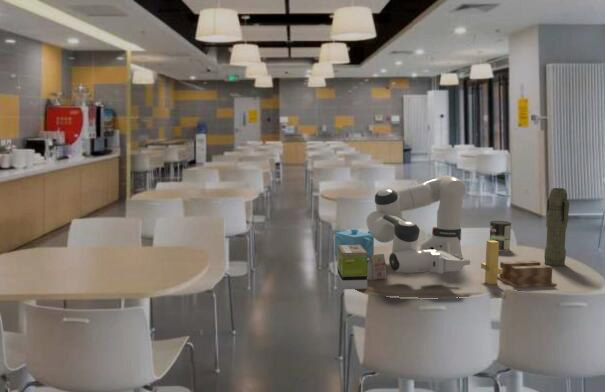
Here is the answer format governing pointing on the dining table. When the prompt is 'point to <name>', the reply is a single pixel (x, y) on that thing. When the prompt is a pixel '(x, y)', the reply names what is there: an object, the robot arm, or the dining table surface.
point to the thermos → (556, 227)
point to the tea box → (352, 266)
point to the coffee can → (501, 234)
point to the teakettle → (355, 240)
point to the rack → (526, 274)
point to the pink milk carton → (376, 267)
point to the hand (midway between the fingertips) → (463, 259)
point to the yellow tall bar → (491, 262)
